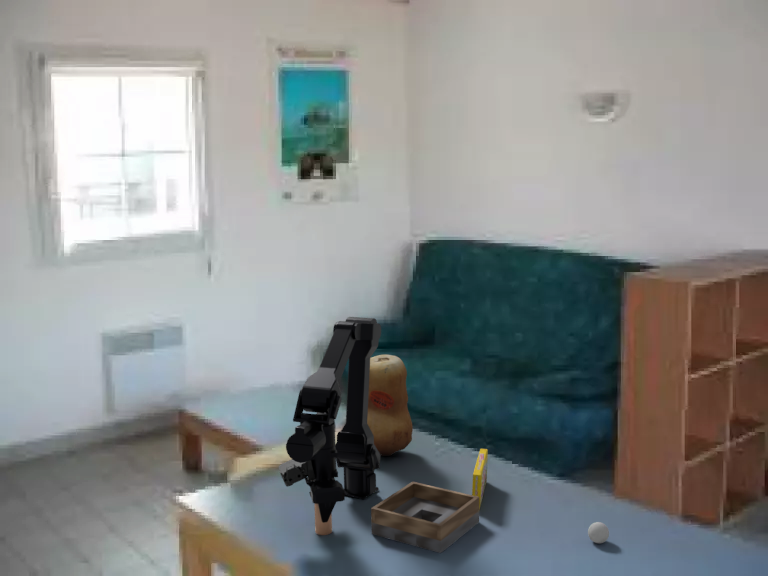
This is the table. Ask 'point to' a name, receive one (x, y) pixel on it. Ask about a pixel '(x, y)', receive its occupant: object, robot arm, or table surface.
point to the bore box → (425, 516)
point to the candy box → (480, 475)
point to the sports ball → (598, 532)
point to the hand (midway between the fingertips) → (323, 518)
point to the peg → (319, 525)
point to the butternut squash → (388, 405)
